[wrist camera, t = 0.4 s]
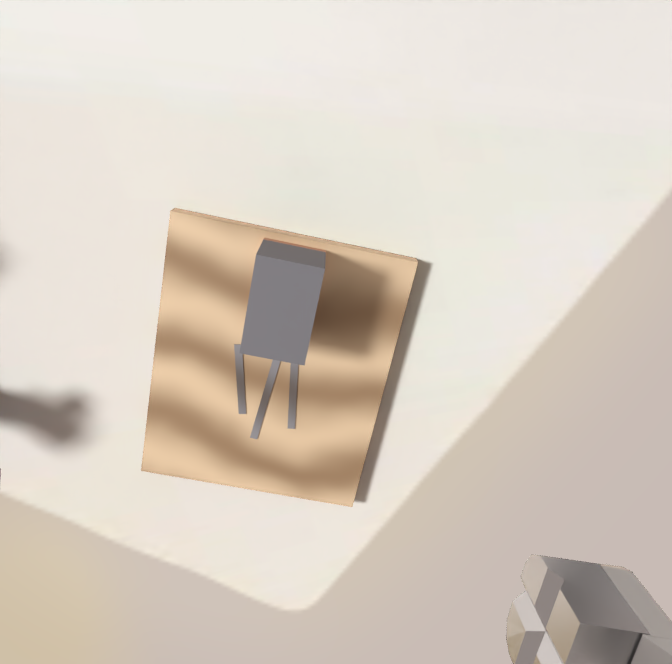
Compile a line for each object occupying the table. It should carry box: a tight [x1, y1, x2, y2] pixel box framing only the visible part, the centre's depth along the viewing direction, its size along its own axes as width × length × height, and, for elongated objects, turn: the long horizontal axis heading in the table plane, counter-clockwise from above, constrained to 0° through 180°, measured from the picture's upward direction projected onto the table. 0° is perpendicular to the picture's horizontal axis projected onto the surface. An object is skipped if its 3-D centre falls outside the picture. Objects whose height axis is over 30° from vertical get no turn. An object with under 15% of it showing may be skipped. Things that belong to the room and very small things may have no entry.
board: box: [141, 208, 418, 507], centre depth 48 cm, size 22×18×1 cm
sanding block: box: [240, 238, 326, 366], centre depth 42 cm, size 7×4×5 cm, turn 168°
